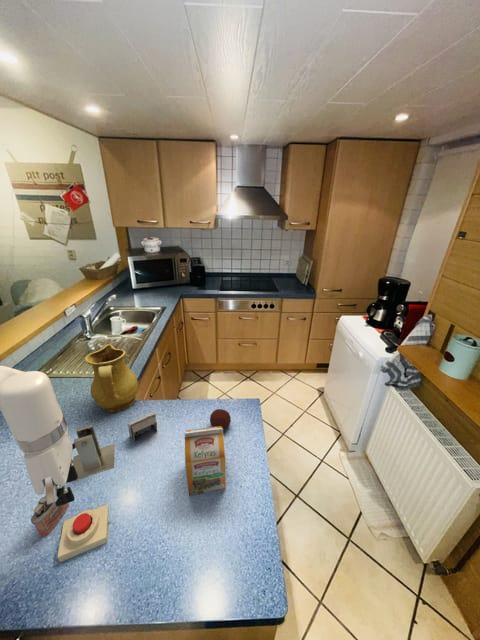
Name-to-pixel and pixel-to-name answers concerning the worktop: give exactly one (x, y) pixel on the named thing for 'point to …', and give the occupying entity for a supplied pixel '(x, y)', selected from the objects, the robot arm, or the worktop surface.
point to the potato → (220, 418)
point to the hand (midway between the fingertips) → (68, 490)
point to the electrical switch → (142, 425)
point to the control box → (84, 534)
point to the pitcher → (112, 379)
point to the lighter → (47, 516)
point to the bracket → (91, 454)
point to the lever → (85, 433)
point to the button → (82, 523)
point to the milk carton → (205, 460)
